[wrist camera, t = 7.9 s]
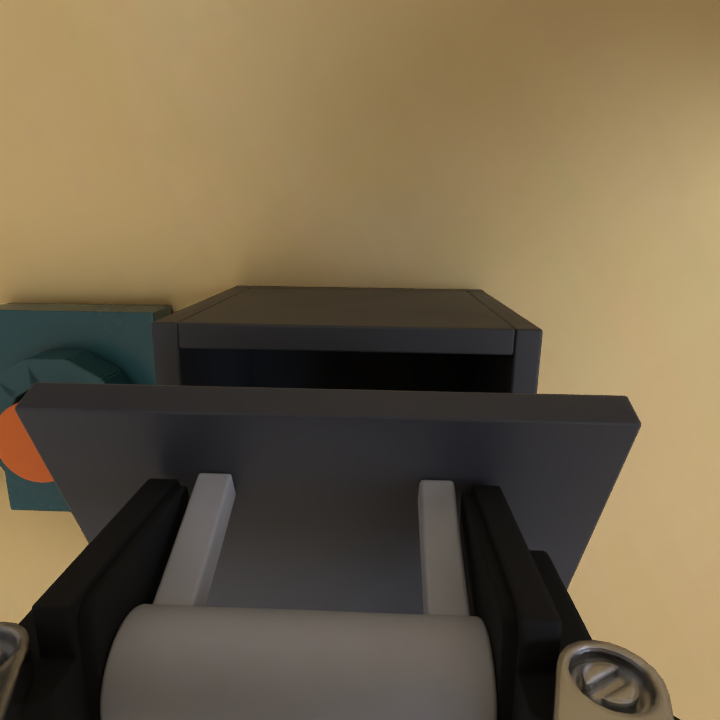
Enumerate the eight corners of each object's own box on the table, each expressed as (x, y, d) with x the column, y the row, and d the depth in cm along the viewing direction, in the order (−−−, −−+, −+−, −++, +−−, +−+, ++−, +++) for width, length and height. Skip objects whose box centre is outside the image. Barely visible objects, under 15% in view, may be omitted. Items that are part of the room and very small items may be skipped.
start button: (14, 388, 23) (-14, 400, 22) (95, 389, 23) (73, 403, 21) (26, 464, 24) (-1, 482, 22) (104, 466, 24) (83, 484, 22)
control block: (10, 302, 26) (-55, 316, 22) (172, 305, 26) (134, 319, 22) (38, 488, 28) (-16, 530, 25) (186, 493, 28) (155, 536, 24)
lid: (34, 381, 11) (-195, 665, 6) (628, 394, 10) (793, 707, 6) (179, 669, 19) (119, 875, 15) (509, 683, 18) (545, 899, 14)
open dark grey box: (236, 285, 25) (150, 322, 16) (482, 289, 25) (543, 329, 15) (247, 522, 28) (180, 670, 19) (465, 529, 28) (508, 684, 19)
